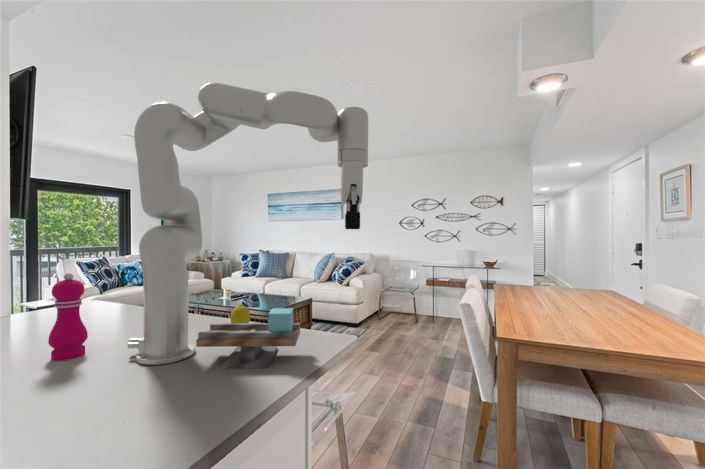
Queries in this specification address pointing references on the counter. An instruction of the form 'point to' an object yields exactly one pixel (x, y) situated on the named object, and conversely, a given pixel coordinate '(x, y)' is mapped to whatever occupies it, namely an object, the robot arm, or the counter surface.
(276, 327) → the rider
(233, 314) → the lemon
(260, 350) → the wooden tray
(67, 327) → the pepper mill
